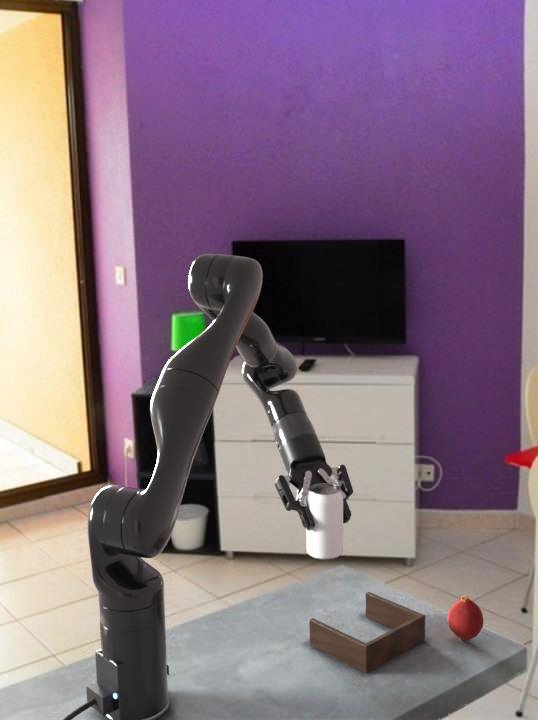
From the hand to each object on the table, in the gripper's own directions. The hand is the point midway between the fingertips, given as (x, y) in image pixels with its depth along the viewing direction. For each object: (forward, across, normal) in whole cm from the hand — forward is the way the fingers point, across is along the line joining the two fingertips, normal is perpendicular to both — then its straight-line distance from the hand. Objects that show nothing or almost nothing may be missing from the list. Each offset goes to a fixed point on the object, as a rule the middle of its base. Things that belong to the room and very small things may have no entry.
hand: (329, 524), depth 158 cm
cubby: (+20, 0, +2) cm, 21 cm away
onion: (+26, +15, -2) cm, 30 cm away
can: (+3, 0, +5) cm, 6 cm away
